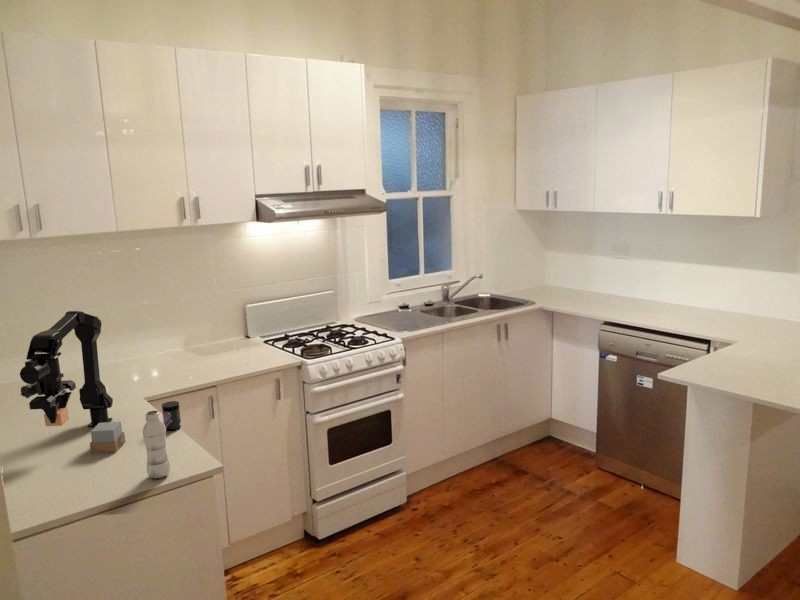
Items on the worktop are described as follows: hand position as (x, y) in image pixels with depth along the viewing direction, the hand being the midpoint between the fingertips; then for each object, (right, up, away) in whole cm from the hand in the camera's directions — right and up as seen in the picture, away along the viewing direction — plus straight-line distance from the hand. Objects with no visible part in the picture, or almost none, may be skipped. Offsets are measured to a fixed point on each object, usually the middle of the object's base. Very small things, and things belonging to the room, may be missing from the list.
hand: (57, 419), depth 202 cm
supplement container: (+30, -7, +21) cm, 37 cm away
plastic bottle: (+38, -14, -14) cm, 43 cm away
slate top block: (+14, -7, +5) cm, 16 cm away
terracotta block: (0, -1, 0) cm, 1 cm away
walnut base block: (+14, -11, +6) cm, 19 cm away
